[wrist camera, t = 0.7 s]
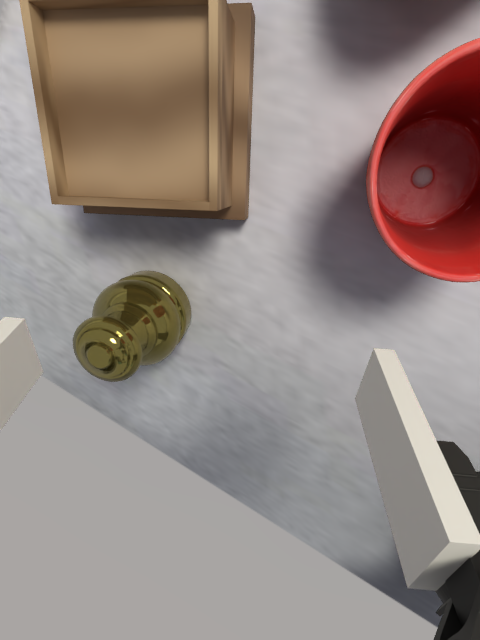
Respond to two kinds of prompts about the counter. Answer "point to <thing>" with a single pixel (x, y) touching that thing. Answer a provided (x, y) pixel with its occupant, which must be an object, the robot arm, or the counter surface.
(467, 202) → the flower pot
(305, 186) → the counter surface
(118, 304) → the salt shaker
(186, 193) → the brown wooden square box
